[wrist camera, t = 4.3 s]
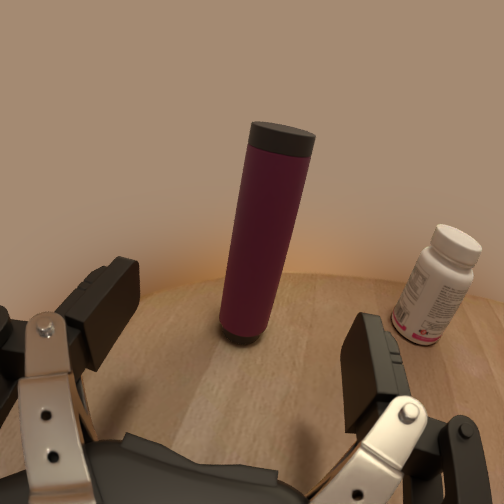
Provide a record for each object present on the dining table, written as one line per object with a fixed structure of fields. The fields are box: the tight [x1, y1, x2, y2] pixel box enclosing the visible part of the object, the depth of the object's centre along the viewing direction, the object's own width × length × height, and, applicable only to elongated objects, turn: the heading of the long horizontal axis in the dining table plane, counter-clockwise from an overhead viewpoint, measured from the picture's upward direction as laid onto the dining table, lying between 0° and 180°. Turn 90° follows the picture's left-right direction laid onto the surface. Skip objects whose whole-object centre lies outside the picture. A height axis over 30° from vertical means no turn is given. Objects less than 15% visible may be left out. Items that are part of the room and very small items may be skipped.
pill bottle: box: [392, 224, 482, 345], centre depth 21 cm, size 5×5×8 cm
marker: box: [219, 122, 316, 344], centre depth 17 cm, size 3×3×12 cm
